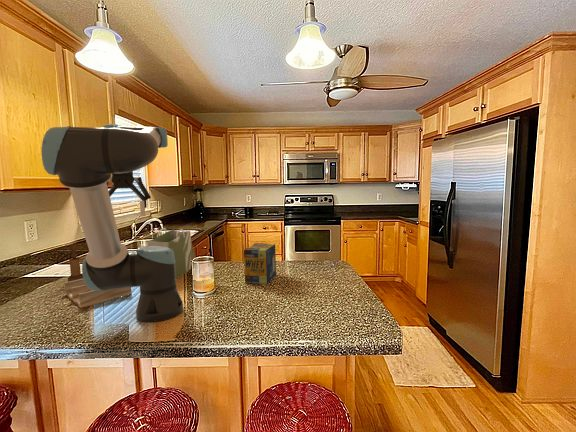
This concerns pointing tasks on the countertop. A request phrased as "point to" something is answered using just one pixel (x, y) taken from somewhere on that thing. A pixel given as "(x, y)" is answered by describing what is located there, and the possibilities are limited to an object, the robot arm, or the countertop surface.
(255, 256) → the protein box
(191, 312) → the countertop surface
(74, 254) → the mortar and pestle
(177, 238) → the grocery bag
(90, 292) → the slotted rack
